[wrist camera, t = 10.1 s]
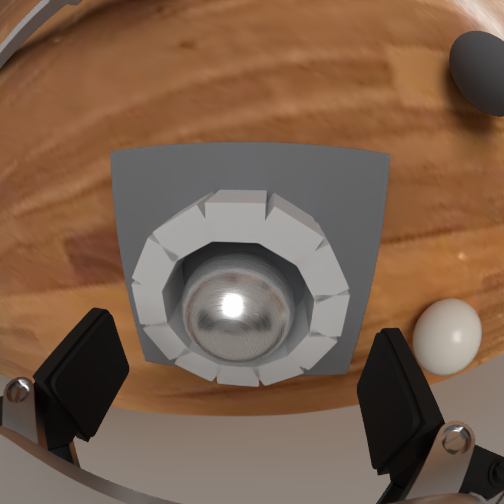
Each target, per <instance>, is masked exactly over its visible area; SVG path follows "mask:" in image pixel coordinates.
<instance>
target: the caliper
mask: <svg viewBox="0 0 504 504" xmlns="http://www.w3.org/2000/svg"><path fill="white" fill-rule="evenodd" d="M81 1H82V0H42V1H41V2H40V3H39V4H38V5H37V6H36V7H35V8H34V9H33V10H32V11H31V12H30V13H29V14H28V15H27V16H26V17H25V18H24V19H23V20H22V21H21V22H20V23H19V24H18V25H17V26H16V27H15V29H14V30H13V31H12V32H11V33H10V34H9V35H8V37H7V38H6V39H5V40H4V42H3V43H2V44H1V45H0V69H1V67H2V66H3V65H4V64H5V63H6V61H7V60H8V59H9V58H10V57H11V56H12V54H13V53H14V52H15V51H16V50H17V49H18V48H19V47H20V46H21V45H22V44H23V43H24V42H25V41H26V39H27V38H29V37H30V36H31V35H32V34H33V33H34V32H35V31H36V30H37V29H38V28H39V27H40V26H41V25H42V24H43V23H44V22H46V21H47V20H48V19H49V18H50V17H51V16H53V15H54V14H55V13H56V12H57V11H59V10H60V9H61V8H62V7H64V6H65V5H66V4H70V5H78V4H79V3H80V2H81Z"/></svg>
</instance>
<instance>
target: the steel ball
mask: <svg viewBox="0 0 504 504" xmlns="http://www.w3.org/2000/svg"><path fill="white" fill-rule="evenodd" d="M294 313H295V302H294V296H293V292H292V288H291V286H290V284H289V282H288V280H287V278H286V277H285V275H284V274H283V273H282V271H281V270H280V269H279V268H278V267H277V266H276V265H275V264H273V263H272V262H271V261H269V260H268V259H266V258H264V257H262V256H260V255H257V254H255V253H251V252H246V251H230V252H225V253H221V254H218V255H215V256H213V257H211V258H209V259H208V260H206V261H205V262H203V263H202V264H201V265H200V266H198V268H197V269H196V270H195V271H194V272H193V273H192V275H191V276H190V278H189V279H188V281H187V283H186V285H185V288H184V291H183V295H182V300H181V314H182V319H183V323H184V326H185V329H186V331H187V333H188V335H189V336H190V338H191V340H192V341H193V342H194V343H195V344H196V346H197V347H198V348H200V349H201V350H202V351H203V352H204V353H206V354H207V355H209V356H211V357H212V358H215V359H217V360H220V361H223V362H227V363H235V364H242V363H249V362H253V361H257V360H259V359H262V358H264V357H266V356H267V355H269V354H271V353H272V352H273V351H275V350H276V349H277V348H278V347H279V346H280V345H281V344H282V342H283V341H284V340H285V338H286V337H287V335H288V333H289V331H290V329H291V326H292V323H293V319H294Z"/></svg>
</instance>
